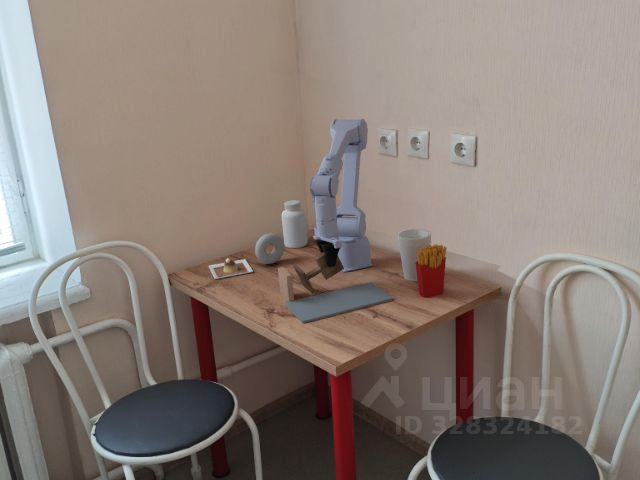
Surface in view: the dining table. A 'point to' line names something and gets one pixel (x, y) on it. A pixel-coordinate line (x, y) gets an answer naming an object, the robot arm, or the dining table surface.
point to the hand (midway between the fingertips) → (329, 264)
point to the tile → (286, 284)
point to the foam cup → (412, 249)
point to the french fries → (431, 270)
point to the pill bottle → (294, 225)
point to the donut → (264, 242)
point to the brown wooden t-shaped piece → (318, 271)
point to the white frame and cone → (230, 267)
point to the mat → (337, 302)
